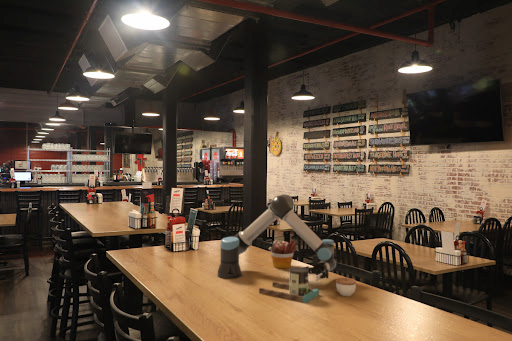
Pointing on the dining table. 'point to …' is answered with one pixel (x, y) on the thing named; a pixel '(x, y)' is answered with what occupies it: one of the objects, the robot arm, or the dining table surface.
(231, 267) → the robot arm
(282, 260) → the bucket of meat
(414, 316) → the dining table surface
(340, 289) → the lidded jar
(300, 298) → the guide rails
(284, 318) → the dining table surface
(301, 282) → the coffee can
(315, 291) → the bar
